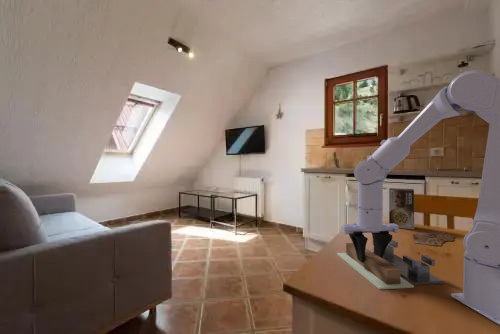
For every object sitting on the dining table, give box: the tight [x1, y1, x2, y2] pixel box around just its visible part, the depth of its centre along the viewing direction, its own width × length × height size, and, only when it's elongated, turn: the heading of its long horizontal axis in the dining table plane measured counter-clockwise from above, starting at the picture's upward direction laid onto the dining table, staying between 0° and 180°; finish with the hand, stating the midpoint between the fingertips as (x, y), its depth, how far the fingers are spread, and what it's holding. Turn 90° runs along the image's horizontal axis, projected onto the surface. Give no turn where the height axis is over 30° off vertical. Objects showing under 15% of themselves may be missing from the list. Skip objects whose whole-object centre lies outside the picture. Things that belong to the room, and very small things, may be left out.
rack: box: [372, 239, 444, 286], centre depth 63 cm, size 18×7×5 cm, turn 6°
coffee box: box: [388, 187, 415, 230], centre depth 103 cm, size 9×6×16 cm
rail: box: [345, 242, 401, 285], centre depth 62 cm, size 18×3×3 cm, turn 6°
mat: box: [336, 252, 415, 290], centre depth 62 cm, size 20×8×1 cm, turn 6°
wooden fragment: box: [413, 230, 456, 247], centre depth 88 cm, size 26×11×1 cm, turn 122°
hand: (369, 260), depth 62 cm, fingers open, 4 cm apart
